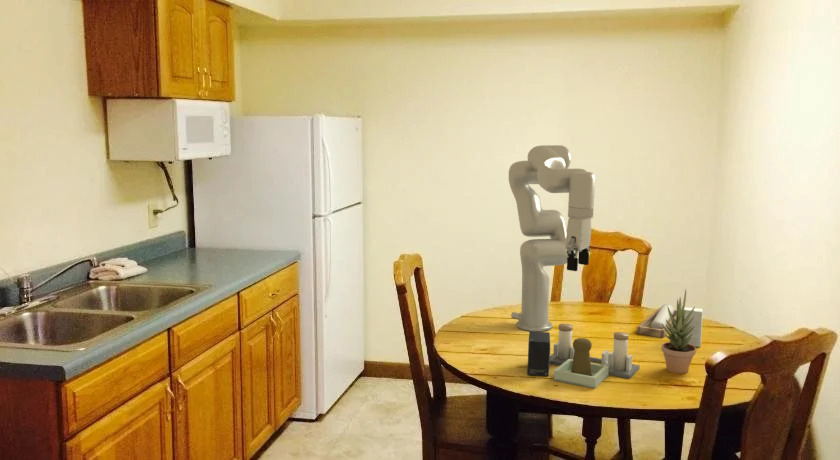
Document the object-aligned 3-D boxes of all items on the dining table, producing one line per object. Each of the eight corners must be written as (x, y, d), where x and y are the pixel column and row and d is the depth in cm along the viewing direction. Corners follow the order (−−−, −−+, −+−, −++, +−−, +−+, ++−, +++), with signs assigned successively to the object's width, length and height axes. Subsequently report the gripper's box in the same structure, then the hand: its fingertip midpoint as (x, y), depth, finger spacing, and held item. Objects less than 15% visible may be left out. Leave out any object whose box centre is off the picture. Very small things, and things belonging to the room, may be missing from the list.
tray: (553, 380, 207) (553, 370, 207) (568, 368, 217) (568, 358, 217) (594, 388, 201) (595, 378, 200) (608, 375, 211) (608, 365, 211)
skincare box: (701, 343, 241) (703, 308, 240) (700, 347, 238) (702, 311, 236) (681, 341, 244) (683, 306, 242) (680, 345, 240) (682, 309, 238)
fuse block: (544, 362, 222) (545, 327, 220) (556, 354, 231) (557, 319, 229) (630, 378, 209) (631, 340, 207) (639, 368, 217) (641, 332, 215)
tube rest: (637, 333, 253) (637, 326, 253) (658, 314, 278) (658, 307, 278) (663, 337, 248) (664, 330, 248) (683, 317, 273) (683, 311, 273)
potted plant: (682, 377, 209) (686, 294, 206) (654, 368, 217) (658, 287, 213) (702, 371, 215) (707, 289, 212) (674, 362, 223) (678, 283, 219)
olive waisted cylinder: (567, 372, 212) (568, 336, 210) (587, 372, 212) (589, 335, 211) (573, 380, 206) (575, 342, 204) (594, 379, 206) (596, 342, 205)
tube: (667, 325, 250) (676, 307, 272) (652, 318, 252) (663, 301, 274) (661, 338, 252) (671, 320, 274) (646, 331, 254) (657, 314, 276)
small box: (549, 377, 210) (550, 341, 209) (526, 375, 211) (527, 340, 210) (549, 365, 220) (550, 331, 219) (527, 363, 222) (528, 330, 220)
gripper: (578, 207, 231) (576, 260, 234) (558, 215, 216) (555, 271, 219) (602, 210, 227) (598, 263, 230) (582, 217, 212) (579, 274, 215)
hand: (577, 267), depth 225 cm, fingers open, 9 cm apart
